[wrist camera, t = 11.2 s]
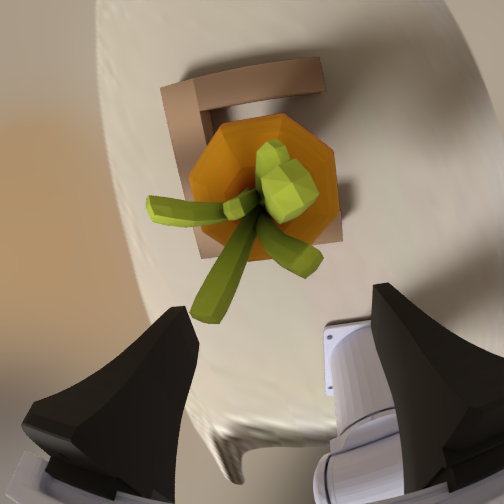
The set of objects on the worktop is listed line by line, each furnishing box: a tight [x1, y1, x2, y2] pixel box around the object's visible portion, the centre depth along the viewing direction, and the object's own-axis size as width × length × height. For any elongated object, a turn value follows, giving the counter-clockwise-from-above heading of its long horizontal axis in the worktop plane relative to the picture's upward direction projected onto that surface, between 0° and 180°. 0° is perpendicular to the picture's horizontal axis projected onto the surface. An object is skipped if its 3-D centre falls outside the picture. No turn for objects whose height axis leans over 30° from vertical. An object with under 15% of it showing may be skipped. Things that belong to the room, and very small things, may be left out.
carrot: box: [146, 113, 340, 324], centre depth 12 cm, size 5×5×15 cm
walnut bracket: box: [160, 57, 343, 259], centre depth 18 cm, size 11×9×2 cm
